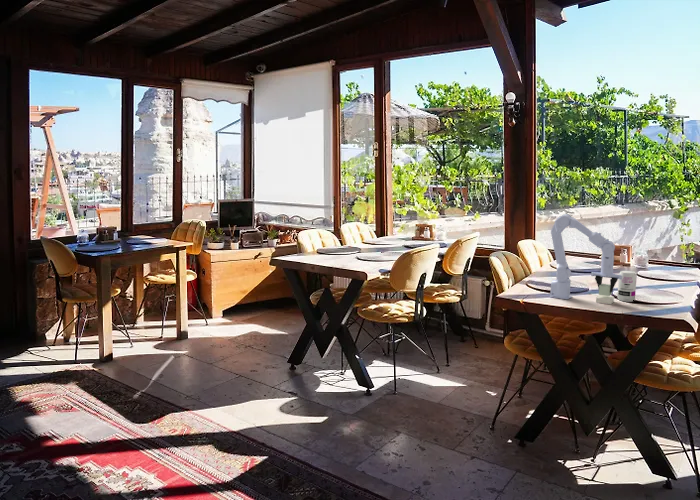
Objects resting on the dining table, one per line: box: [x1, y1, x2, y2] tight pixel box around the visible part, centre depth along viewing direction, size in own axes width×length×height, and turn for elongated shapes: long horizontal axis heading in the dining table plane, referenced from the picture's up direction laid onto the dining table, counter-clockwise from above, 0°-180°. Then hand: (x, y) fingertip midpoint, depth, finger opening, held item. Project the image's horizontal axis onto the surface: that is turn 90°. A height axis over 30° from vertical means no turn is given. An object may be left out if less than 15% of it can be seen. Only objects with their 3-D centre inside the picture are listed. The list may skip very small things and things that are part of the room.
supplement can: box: [616, 270, 638, 303], centre depth 297 cm, size 8×8×15 cm
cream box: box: [595, 294, 615, 305], centre depth 295 cm, size 7×7×3 cm
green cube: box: [598, 283, 613, 296], centre depth 294 cm, size 5×5×5 cm
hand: (605, 291), depth 295 cm, fingers closed on green cube, 5 cm apart
